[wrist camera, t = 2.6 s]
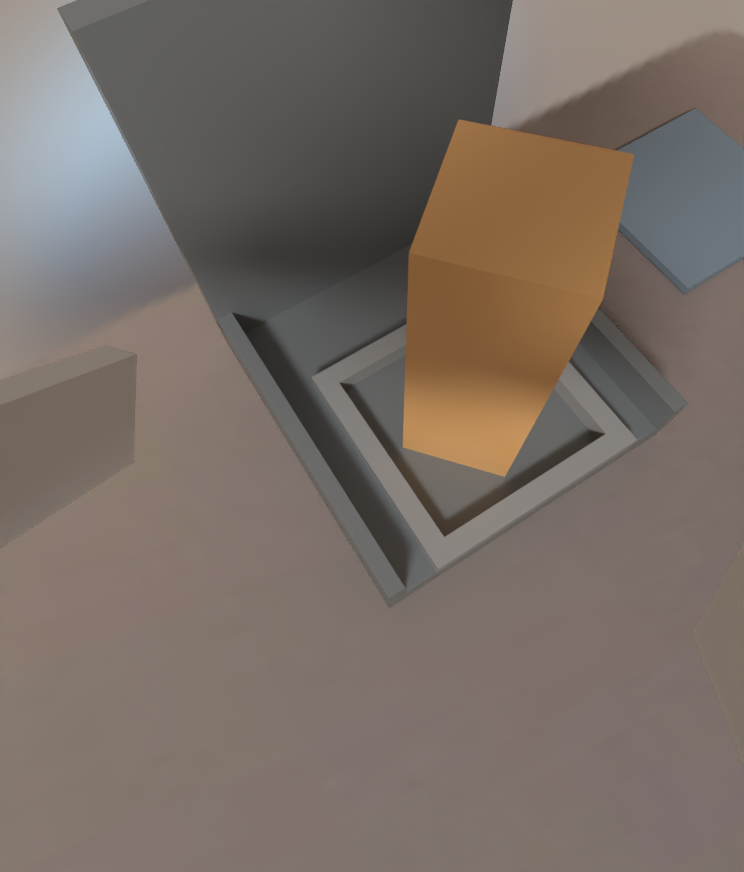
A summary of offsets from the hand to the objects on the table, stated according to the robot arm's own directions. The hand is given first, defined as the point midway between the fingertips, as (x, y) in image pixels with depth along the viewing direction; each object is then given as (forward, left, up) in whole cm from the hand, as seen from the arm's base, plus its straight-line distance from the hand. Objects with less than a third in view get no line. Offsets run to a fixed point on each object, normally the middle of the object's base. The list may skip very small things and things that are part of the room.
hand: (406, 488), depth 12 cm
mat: (+10, -27, -16) cm, 33 cm away
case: (+8, -7, -16) cm, 19 cm away
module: (+5, -7, -14) cm, 17 cm away
